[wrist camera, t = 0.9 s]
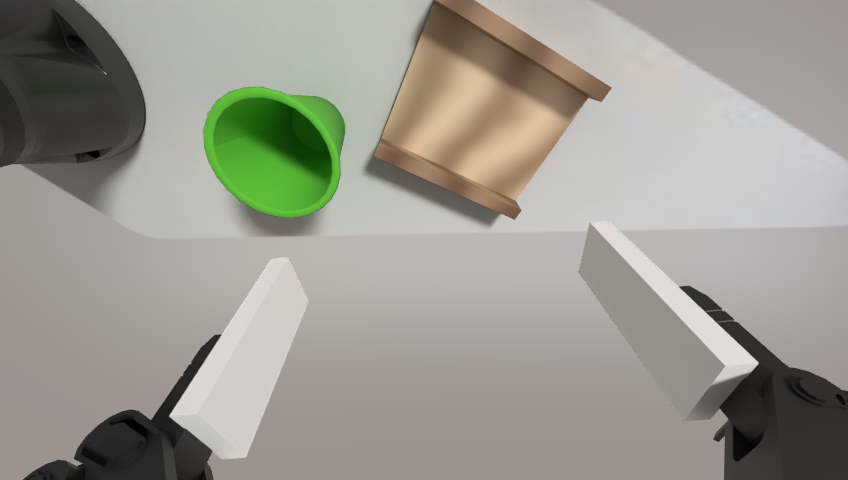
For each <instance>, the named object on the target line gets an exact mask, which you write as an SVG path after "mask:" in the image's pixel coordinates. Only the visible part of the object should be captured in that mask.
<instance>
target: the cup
mask: <svg viewBox="0 0 848 480" xmlns="http://www.w3.org/2000/svg"><path fill="white" fill-rule="evenodd" d="M203 132H204V148H205V151H206V155H207V158H208V162H209V164H210V165H211V167H212V169H213V171H214V173H215V175H216V177H217V178H218V179H219V180H220V182H221V183H222V184H223V185H224V186H225V188H226V189H227V190H228V191H229V192H230V193H232V194H233V195H234V196H235V197H236V198H237V199H238V200H240V201H241V202H243V203H245V204H246V205H248V206H250V207H251V208H253V209H255V210H258V211H260V212H263V213H265V214H268V215H273V216H278V217H300V216H304V215H309V214H312V213H314V212H316V211H317V210H319V209H321V208H323V207H324V206H325V205H326V204H327V203H328V202H329V201H330V200H331V199H332V197H333V195H334V193H335V192H336V190H337V188H338V184H339V179H340V175H341V172H340V154H341V149H342V145H343V140H344V136H345V124H344V120H343V117H342V116H341V114H340V112H339V111H338V109H337V108H336V107H335V106H334V105H333V104H332V103H330V102H329V101H327V100H325V99H323V98H320V97H316V96H301V95H286V94H284V93H282V92H280V91H276V90H272V89H268V88H263V87H244V88H241V89H238V90H234V91H231V92H228V93H227V94H226V95H224V96H223V97H222V98H220V99H219V100H217V101H216V102H215V104H214V105H213V107H212V108H211V110H210V111H209V113H208V115H207V119H206V123H205V126H204V130H203Z"/></svg>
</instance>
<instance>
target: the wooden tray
mask: <svg viewBox="0 0 848 480" xmlns="http://www.w3.org/2000/svg"><path fill="white" fill-rule="evenodd" d="M610 90H611V87H610V86H608V85H607V84H605V83H603V82H602V81H600V80H599V79H597V78H596V77H594V76H592V75H591V74H589V73H588V72H586V71H585V70H583V69H581V68H580V67H578V66H577V65H575V64H574V63H572V62H570V61H569V60H567V59H566V58H564V57H563V56H561V55H559V54H558V53H556V52H555V51H553V50H552V49H550V48H548V47H547V46H545V45H544V44H542V43H541V42H539V41H537V40H536V39H534V38H533V37H531V36H530V35H528V34H526V33H525V32H523V31H522V30H520V29H519V28H517V27H515V26H514V25H512V24H511V23H509V22H508V21H506V20H504V19H503V18H501V17H500V16H498V15H497V14H495V13H493V12H492V11H490V10H489V9H487V8H486V7H484V6H482V5H481V4H479V3H478V2H476V1H475V0H434V3H433V6H432V8H431V11H430V13H429V16H428V19H427V21H426V24H425V26H424V29H423V31H422V34H421V37H420V39H419V42H418V44H417V47H416V49H415V52H414V55H413V57H412V60H411V62H410V65H409V68H408V70H407V73H406V75H405V78H404V80H403V83H402V86H401V88H400V91H399V93H398V96H397V98H396V101H395V104H394V106H393V109H392V111H391V114H390V117H389V119H388V122H387V124H386V127H385V129H384V132H383V135H382V137H381V139H380V142H379V144H378V146H377V149H376V152H375V154H374V157H377V158H379V159H381V160H383V161H386V162H388V163H390V164H392V165H394V166H397V167H399V168H401V169H403V170H406V171H408V172H410V173H412V174H414V175H417V176H419V177H421V178H423V179H426V180H428V181H430V182H432V183H434V184H437V185H439V186H441V187H443V188H445V189H448V190H450V191H452V192H454V193H457V194H459V195H461V196H463V197H465V198H468V199H470V200H472V201H474V202H477V203H479V204H481V205H483V206H485V207H488V208H490V209H492V210H494V211H497V212H499V213H501V214H503V215H505V216H508V217H510V218H512V219H514V220H515V219H516V217H517V216H518V215H519V213H520V212H521V209H520V208H519V206H518V204H517V202H516V199H517V198H518V196H519V195H520V194H521V192H522V191H523V189H524V188H525V186H526V185H527V184H528V182H529V181H530V179H531V178H532V177H533V175H534V174H535V172H536V171H537V170H538V168H539V167H540V165H541V164H542V162H543V161H544V160H545V158H546V157H547V155H548V154H549V153H550V151H551V150H552V148H553V147H554V146H555V144H556V143H557V141H558V140H559V139H560V137H561V136H562V134H563V133H564V131H565V130H566V129H567V127H568V126H569V124H570V123H571V122H572V120H573V119H574V117H575V116H576V115H577V113H578V112H579V110H580V109H581V108H582V106H583V105H584V103H585V102H586V100H587V99H588V98H591V99H594V100H597V101H600V102H602V100H603V99H604V98H605V96H606V95H607V94H608V92H609V91H610Z"/></svg>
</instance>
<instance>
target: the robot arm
mask: <svg viewBox="0 0 848 480" xmlns="http://www.w3.org/2000/svg"><path fill="white" fill-rule="evenodd" d="M144 119H145V109H144V101H143V97H142V93H141V89H140V86H139V84H138V81H137V79H136V76H135V74H134V72H133V70H132V68H131V66H130V64H129V62H128V61H127V59H126V57H125V56H124V54H123V53H122V51H121V50H120V48H119V47H118V45H117V44H116V43H115V41H114V40H113V39H112V37H111V36H110V35H109V34H108V33H107V31H106V30H105V29H104V28H103V27H102V26H101V25H100V24H99V22H98V21H97V20H96V19H95V18H94V17H93V16H92V15H91V14H90V13H88V12H87V11H86V10H85V9H84V8H83V7H82V6H81V5H79V4H78V3H77V2H76V1H75V0H0V167H3V166H7V165H10V164H43V163H85V162H93V161H98V160H102V159H105V158H108V157H111V156H113V155H116V154H119V153H122V152H124V151H126V150H127V149H129V148H130V147H132V146H133V145H134V144H135V143H136V141H137V140H138V138H139V137H140V135H141V133H142V130H143V126H144ZM579 273H580V275H581V276H582V278H583V279H584V281H585V282H586V283H587V285H588V286H589V288H590V289H591V291H592V292H593V293H594V295H595V296H596V298H597V299H598V300H599V302H600V303H601V305H602V306H603V308H604V309H605V311H606V312H607V313H608V315H609V316H610V318H611V319H612V321H613V322H614V324H615V325H616V326H617V328H618V329H619V331H620V332H621V333H622V335H623V336H624V337H625V339H626V341H627V342H628V344H629V345H630V346H631V348H632V349H633V351H634V352H635V354H636V355H637V356H638V358H639V359H640V361H641V362H642V363H643V365H644V366H645V368H646V369H647V371H648V372H649V374H650V375H651V376H652V378H653V379H654V381H655V382H656V384H657V385H658V386H659V388H660V389H661V391H662V392H663V394H664V395H665V396H666V398H667V399H668V401H669V402H670V404H671V405H672V406H673V408H674V409H675V411H676V412H677V414H678V415H679V417H680V418H681V419H682V421H693V420H705V419H711V417H713V415H714V414H715V413H716V412H717V410H719V408H720V409H721V410H722V412H723V413H724V414H725V415H726V416H727V418H728V419H729V420H728V421H727V422H726V423H725V424H724V425H723V426H722V427H721V428H720V429H719V430H718V431H717V433H716V434H715V437H714V440H715V441H718V442H719V441H720V440H721V439H722V438H723V437H724V436H725V462H724V463H725V465H724V480H848V391H844V390H841V389H840V388H838V387H837V386H835V385H834V384H832V383H831V382H829V381H827V380H826V379H824V378H822V377H820V376H817V375H815V374H813V373H811V372H808V371H805V370H800V369H797V368H789V367H788V366H787V365H785V364H784V363H783V362H782V361H781V360H779V359H778V358H777V357H776V356H775V355H774V354H773V353H772V352H770V351H769V350H768V349H767V348H766V347H765V346H764V345H762V344H761V343H760V342H759V341H758V340H757V339H756V338H755V337H753V336H752V335H751V334H750V333H749V332H748V331H747V330H745V329H744V328H743V327H742V326H741V325H740V324H739V323H738V322H734V319H733V318H732V317H731V316H730V315H729V314H727V313H726V312H725V311H722V309H721V307H719V306H718V305H717V304H716V303H715V302H714V301H713V300H711V299H710V298H709V297H708V296H707V295H705V294H703V293H701V292H699V291H697V290H696V289H694V288H692V287H690V286H681V287H678V286H677V285H676V284H675V283H674V282H673V281H672V280H671V279H670V278H669V277H668V276H666V275H665V274H664V273H663V272H662V271H661V270H660V269H659V268H658V267H657V266H656V265H655V264H654V263H653V262H652V261H651V260H649V258H647V257H646V256H645V255H644V254H643V253H642V252H641V251H640V250H639V249H638V248H637V247H636V246H635V245H634V244H633V243H631V242H630V241H629V240H628V239H627V238H626V237H625V236H624V235H623V234H622V233H621V232H620V231H619V230H618V229H617V228H616V227H615V226H614V225H613V224H612V223H610V222H609V221H600V222H591V223H590V224H589V229H588V234H587V238H586V243H585V247H584V251H583V255H582V260H581V264H580V269H579ZM308 301H309V300H308V299H307V296H306V294H305V292H304V290H303V288H302V286H301V284H300V282H299V279H298V277H297V275H296V273H295V271H294V269H293V267H292V265H291V263H290V261H289V259H288V257H284V258H275V259H271V260H270V262H269V263H268V264H267V266H266V268H265V269H264V271H263V272H262V274H261V275H260V277H259V278H258V280H257V281H256V283H255V284H254V286H253V288H252V289H251V291H250V292H249V294H248V295H247V297H246V298H245V300H244V301H243V303H242V305H241V306H240V308H239V309H238V311H237V312H236V314H235V315H234V317H233V318H232V320H231V321H230V323H229V325H228V326H227V328H226V329H225V331H224V332H223V334H221V335H214V336H213V337H212V338H211V339H210V340H209V341H208V342H207V343H206V344H205V345H203V346H202V347H201V348H200V350H199V351H198V353H197V354H196V356H195V357H194V359H193V360H192V363H191V365H189V366H188V367H187V369H186V370H185V372H184V373H183V374H184V375H183V376H182V377H180V379H179V381H178V382H177V383H176V385H175V386H174V388H173V389H172V391H171V392H170V394H169V395H168V396H167V398H166V400H165V401H164V402H163V404H162V405H161V407H160V408H159V410H158V411H157V412H156V414H155V415H154V417H153V418H152V420H149V419H148V418H147V417H146V416H144V415H143V414H142V413H140V412H139V411H136V410H127V411H122V412H120V413H118V414H116V415H113V416H111V417H109V418H108V419H107V420H105V421H104V422H102V423H101V424H99V425H98V426H97V427H96V428H95V429H94V430H93V431H92V432H91V433H90V434H88V435H87V436H86V438H85V439H84V440H83V442H82V443H81V444H80V446H79V447H78V449H77V451H76V454H75V457H74V459H75V460H77V461H79V462H81V463H83V464H81V465H79V466H75V465H73V464H71V463H69V462H67V461H62V460H57V461H54V462H51V463H48V464H45V465H44V466H42V467H40V468H38V469H37V470H35V471H33V472H32V473H31V474H29V475H28V476H27V477H26V478H24V479H23V480H213V475H212V471H211V468H210V466H209V465H208V463H207V461H208V459H209V457H210V455H211V453H212V452H214V453H215V454H216V455H217V456H218V457H220V458H221V459H233V458H245V457H246V456H247V453H248V451H249V448H250V446H251V443H252V441H253V438H254V436H255V433H256V431H257V428H258V426H259V424H260V421H261V418H262V416H263V414H264V411H265V409H266V406H267V403H268V401H269V399H270V396H271V393H272V391H273V389H274V386H275V383H276V381H277V378H278V376H279V374H280V371H281V369H282V366H283V364H284V361H285V359H286V356H287V354H288V351H289V349H290V346H291V344H292V341H293V339H294V336H295V334H296V331H297V329H298V326H299V324H300V321H301V319H302V316H303V314H304V311H305V309H306V306H307V304H308Z"/></svg>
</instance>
